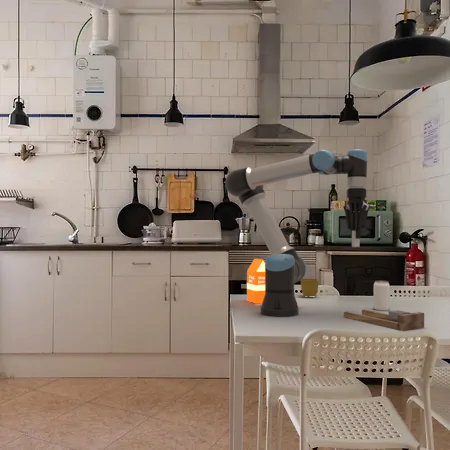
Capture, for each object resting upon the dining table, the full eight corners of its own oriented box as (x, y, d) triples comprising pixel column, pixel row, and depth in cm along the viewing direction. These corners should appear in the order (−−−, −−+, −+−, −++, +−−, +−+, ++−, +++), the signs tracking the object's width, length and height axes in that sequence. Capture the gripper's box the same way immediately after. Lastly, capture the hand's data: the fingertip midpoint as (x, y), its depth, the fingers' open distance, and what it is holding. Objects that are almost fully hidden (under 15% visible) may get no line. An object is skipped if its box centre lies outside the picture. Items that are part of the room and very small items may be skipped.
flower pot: (300, 295, 231) (300, 278, 231) (317, 296, 230) (317, 278, 230) (300, 298, 222) (300, 279, 222) (318, 298, 221) (318, 280, 221)
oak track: (402, 330, 150) (402, 315, 150) (343, 317, 174) (343, 304, 174) (424, 327, 156) (424, 313, 156) (364, 314, 179) (364, 301, 179)
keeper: (400, 328, 155) (400, 313, 155) (388, 325, 159) (388, 311, 159) (410, 326, 157) (410, 312, 157) (398, 324, 162) (398, 310, 162)
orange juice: (255, 304, 203) (255, 259, 203) (246, 301, 211) (246, 258, 211) (270, 303, 206) (270, 259, 206) (261, 300, 214) (261, 258, 214)
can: (373, 310, 189) (373, 281, 190) (373, 307, 196) (373, 280, 196) (389, 311, 187) (389, 282, 187) (389, 308, 193) (389, 280, 193)
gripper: (375, 187, 177) (374, 247, 177) (352, 189, 189) (351, 246, 189) (361, 186, 174) (360, 247, 174) (338, 188, 185) (337, 246, 185)
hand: (355, 246), depth 181 cm, fingers closed
